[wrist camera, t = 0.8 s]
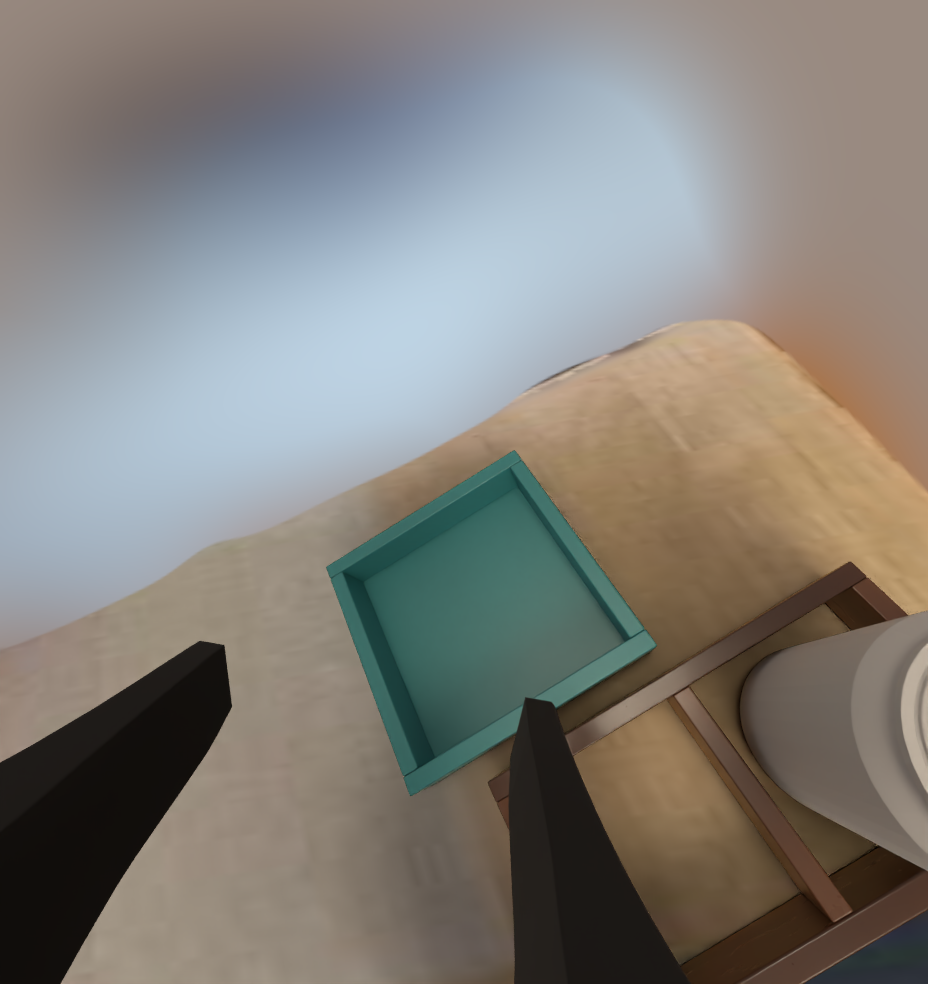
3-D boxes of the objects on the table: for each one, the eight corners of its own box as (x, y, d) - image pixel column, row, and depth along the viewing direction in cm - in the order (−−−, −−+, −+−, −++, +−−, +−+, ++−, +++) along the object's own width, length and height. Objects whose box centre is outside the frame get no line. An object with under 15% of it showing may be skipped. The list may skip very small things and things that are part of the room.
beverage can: (854, 632, 20) (1133, 557, 10) (957, 801, 17) (1526, 963, 7) (708, 666, 21) (817, 633, 10) (782, 833, 18) (1036, 1019, 7)
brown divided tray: (1035, 788, 17) (1110, 803, 14) (622, 1035, 17) (626, 1091, 14) (821, 576, 21) (850, 560, 19) (499, 773, 21) (486, 782, 19)
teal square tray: (650, 651, 22) (657, 645, 19) (432, 785, 22) (409, 797, 19) (522, 473, 28) (514, 449, 25) (351, 579, 28) (325, 566, 25)
